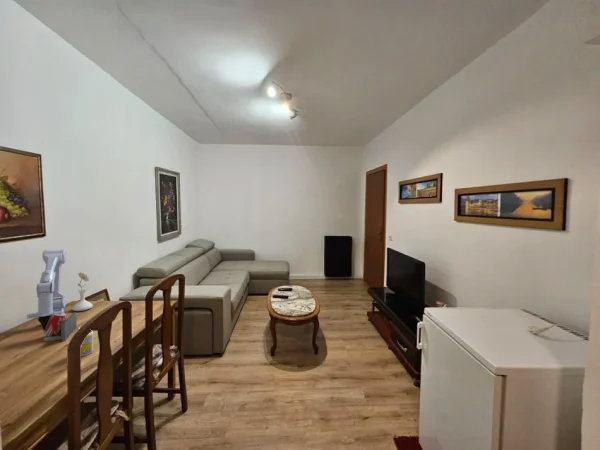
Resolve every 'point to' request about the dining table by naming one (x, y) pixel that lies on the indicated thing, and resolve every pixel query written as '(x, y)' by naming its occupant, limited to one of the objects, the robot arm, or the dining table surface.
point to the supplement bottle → (87, 344)
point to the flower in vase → (82, 296)
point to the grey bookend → (65, 328)
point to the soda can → (55, 324)
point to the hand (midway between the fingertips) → (45, 330)
